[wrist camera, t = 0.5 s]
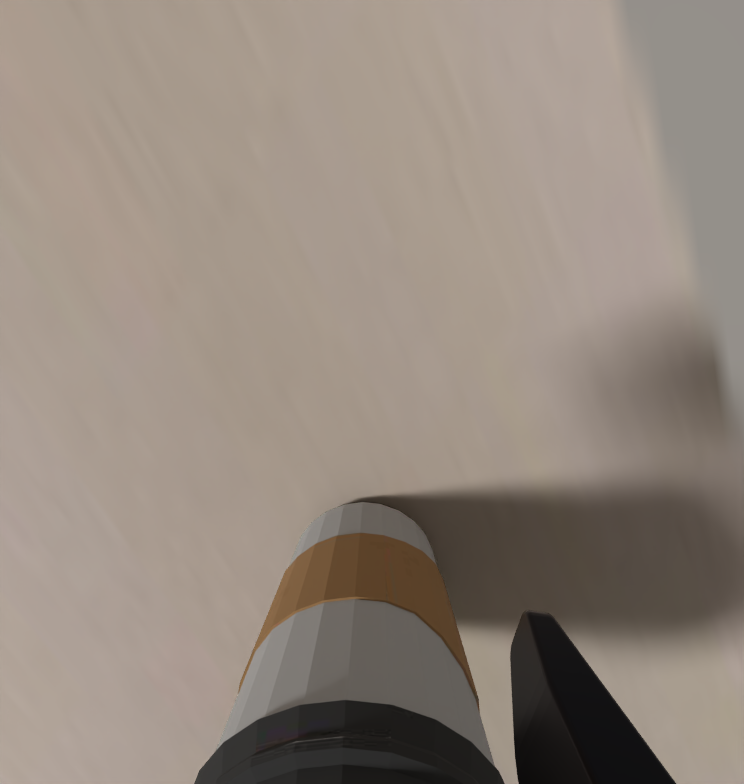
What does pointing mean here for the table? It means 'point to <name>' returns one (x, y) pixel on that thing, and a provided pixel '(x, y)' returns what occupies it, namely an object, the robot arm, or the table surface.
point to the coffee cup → (357, 668)
